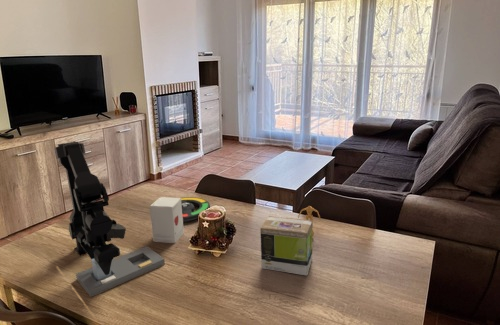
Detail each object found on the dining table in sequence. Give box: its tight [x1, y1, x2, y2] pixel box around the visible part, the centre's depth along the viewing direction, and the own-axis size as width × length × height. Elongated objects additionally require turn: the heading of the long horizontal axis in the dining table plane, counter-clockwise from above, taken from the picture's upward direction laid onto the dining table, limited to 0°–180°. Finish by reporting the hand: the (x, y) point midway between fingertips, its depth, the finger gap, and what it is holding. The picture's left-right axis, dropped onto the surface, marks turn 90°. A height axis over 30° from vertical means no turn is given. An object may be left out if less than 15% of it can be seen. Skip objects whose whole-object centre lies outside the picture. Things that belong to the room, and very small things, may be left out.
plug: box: [90, 258, 112, 281], centre depth 110 cm, size 4×4×8 cm
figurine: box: [297, 205, 321, 238], centre depth 134 cm, size 8×6×12 cm
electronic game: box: [180, 196, 211, 223], centre depth 159 cm, size 23×23×5 cm
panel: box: [75, 245, 166, 298], centre depth 115 cm, size 12×24×3 cm, turn 133°
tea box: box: [259, 215, 314, 277], centre depth 115 cm, size 15×10×15 cm
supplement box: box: [149, 196, 185, 244], centre depth 135 cm, size 9×9×15 cm
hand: (101, 268), depth 110 cm, fingers open, 8 cm apart
